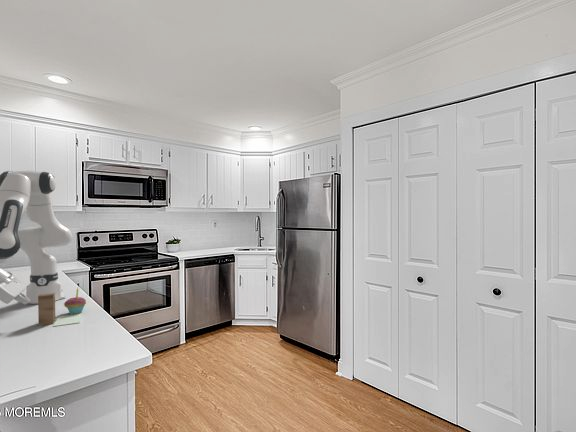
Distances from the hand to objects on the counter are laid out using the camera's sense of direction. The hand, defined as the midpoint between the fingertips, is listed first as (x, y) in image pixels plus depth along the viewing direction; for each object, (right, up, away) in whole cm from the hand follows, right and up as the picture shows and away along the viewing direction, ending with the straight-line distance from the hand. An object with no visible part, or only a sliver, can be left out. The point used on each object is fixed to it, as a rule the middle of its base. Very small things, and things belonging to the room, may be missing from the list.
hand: (28, 302), depth 135 cm
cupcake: (+8, -9, +17) cm, 21 cm away
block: (+6, -9, +3) cm, 11 cm away
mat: (+12, -9, +6) cm, 17 cm away
